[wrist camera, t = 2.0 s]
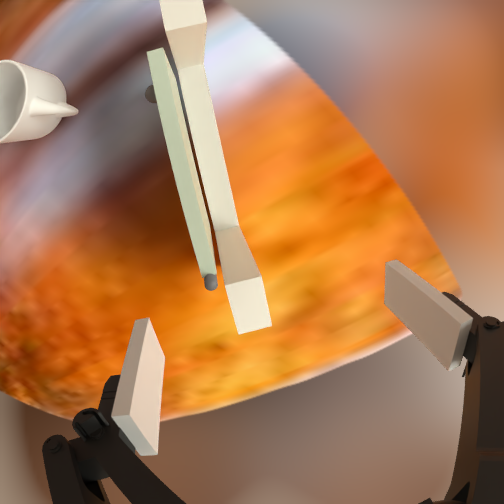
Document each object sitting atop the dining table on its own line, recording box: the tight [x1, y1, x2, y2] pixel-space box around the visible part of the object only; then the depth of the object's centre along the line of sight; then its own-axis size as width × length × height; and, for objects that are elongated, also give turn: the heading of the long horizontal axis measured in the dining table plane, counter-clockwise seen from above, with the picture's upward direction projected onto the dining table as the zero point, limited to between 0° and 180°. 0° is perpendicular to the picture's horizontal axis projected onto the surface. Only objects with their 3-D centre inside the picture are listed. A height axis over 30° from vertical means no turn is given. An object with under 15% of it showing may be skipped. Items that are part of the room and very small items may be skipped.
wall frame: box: [160, 0, 272, 334], centre depth 28 cm, size 30×3×15 cm, turn 12°
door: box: [145, 48, 218, 291], centre depth 28 cm, size 19×3×16 cm, turn 12°
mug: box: [0, 60, 78, 144], centre depth 25 cm, size 9×12×11 cm
